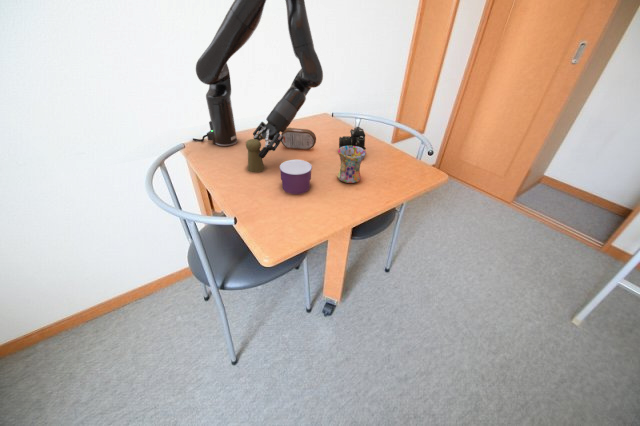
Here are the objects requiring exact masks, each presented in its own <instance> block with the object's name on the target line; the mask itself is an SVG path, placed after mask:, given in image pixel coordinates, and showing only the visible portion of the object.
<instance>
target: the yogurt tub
mask: <svg viewBox="0 0 640 426" xmlns="http://www.w3.org/2000/svg"><path fill="white" fill-rule="evenodd" d="M278 167H279V171H280V180H281V184H282V185H281V187H282V190H283V191H284V192H285V193H287V194H290V195H300V194H301V195H302V194H305V193H307V192H309V190H310V188H311V179H312V170H313V165H312V164H311V163H310V162H308V161H306V160H303V159H289V160H285V161H283V162H281V164H279V166H278Z"/></svg>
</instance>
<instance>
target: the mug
mask: <svg viewBox="0 0 640 426" xmlns="http://www.w3.org/2000/svg"><path fill="white" fill-rule="evenodd" d="M337 152H338V155H339V159H340V168H339V171H338V173H337V175H336V176H337V179H338V180H339V181H340V182H342V183H347V184H355V183H358V182H359V181H361V179H362V175H361V170H360V169H361V164H362V161H363V159H364V158H365V156H366V154H367V151H366V149H365V150H364V149H362V148H360V147H357V146H343V147H341V148H339V147H338V149H337Z"/></svg>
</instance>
